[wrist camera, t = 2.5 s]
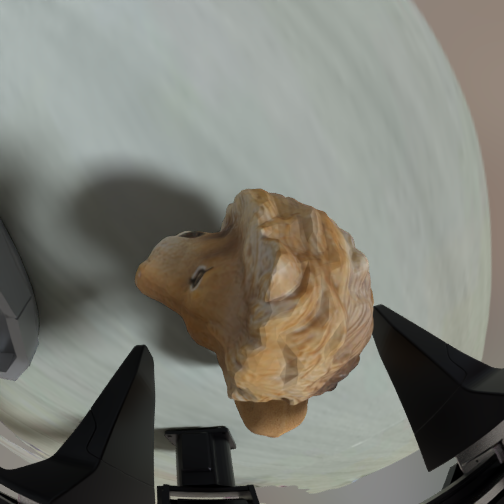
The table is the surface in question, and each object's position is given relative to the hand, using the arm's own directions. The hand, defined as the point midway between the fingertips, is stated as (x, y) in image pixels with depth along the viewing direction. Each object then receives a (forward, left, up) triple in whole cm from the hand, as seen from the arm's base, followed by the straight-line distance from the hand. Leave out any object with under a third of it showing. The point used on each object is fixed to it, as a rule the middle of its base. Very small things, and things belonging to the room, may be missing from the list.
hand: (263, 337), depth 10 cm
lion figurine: (-1, 0, -4) cm, 4 cm away
